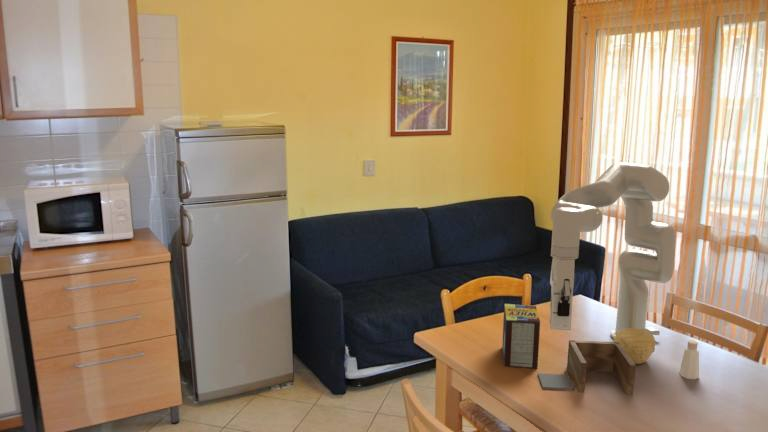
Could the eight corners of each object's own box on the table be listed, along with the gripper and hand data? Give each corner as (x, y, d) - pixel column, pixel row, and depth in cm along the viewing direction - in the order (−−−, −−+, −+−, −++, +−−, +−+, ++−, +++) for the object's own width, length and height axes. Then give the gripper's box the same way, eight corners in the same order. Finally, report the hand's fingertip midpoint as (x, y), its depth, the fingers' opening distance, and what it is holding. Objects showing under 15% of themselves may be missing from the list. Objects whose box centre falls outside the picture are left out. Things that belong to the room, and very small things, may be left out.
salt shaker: (687, 380, 185) (690, 345, 182) (675, 372, 190) (678, 338, 188) (703, 378, 186) (707, 344, 184) (690, 371, 191) (694, 337, 189)
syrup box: (571, 330, 176) (574, 281, 173) (549, 329, 177) (552, 280, 174) (569, 323, 181) (572, 276, 178) (548, 322, 182) (551, 274, 179)
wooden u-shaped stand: (616, 369, 191) (618, 342, 190) (632, 394, 175) (635, 365, 173) (567, 367, 193) (569, 340, 191) (578, 392, 176) (581, 362, 175)
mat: (568, 376, 186) (568, 374, 186) (574, 390, 177) (574, 388, 177) (537, 375, 187) (537, 373, 187) (542, 388, 178) (542, 387, 178)
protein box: (533, 349, 206) (536, 305, 203) (537, 369, 191) (540, 321, 188) (501, 347, 208) (503, 303, 205) (503, 366, 193) (505, 319, 190)
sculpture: (624, 369, 192) (627, 336, 190) (605, 353, 204) (608, 322, 202) (658, 367, 194) (662, 334, 192) (637, 351, 205) (640, 320, 203)
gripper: (546, 243, 183) (542, 301, 187) (557, 258, 166) (552, 322, 170) (571, 244, 183) (567, 302, 186) (585, 259, 166) (580, 323, 169)
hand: (560, 311), depth 178 cm, fingers closed on syrup box, 6 cm apart
